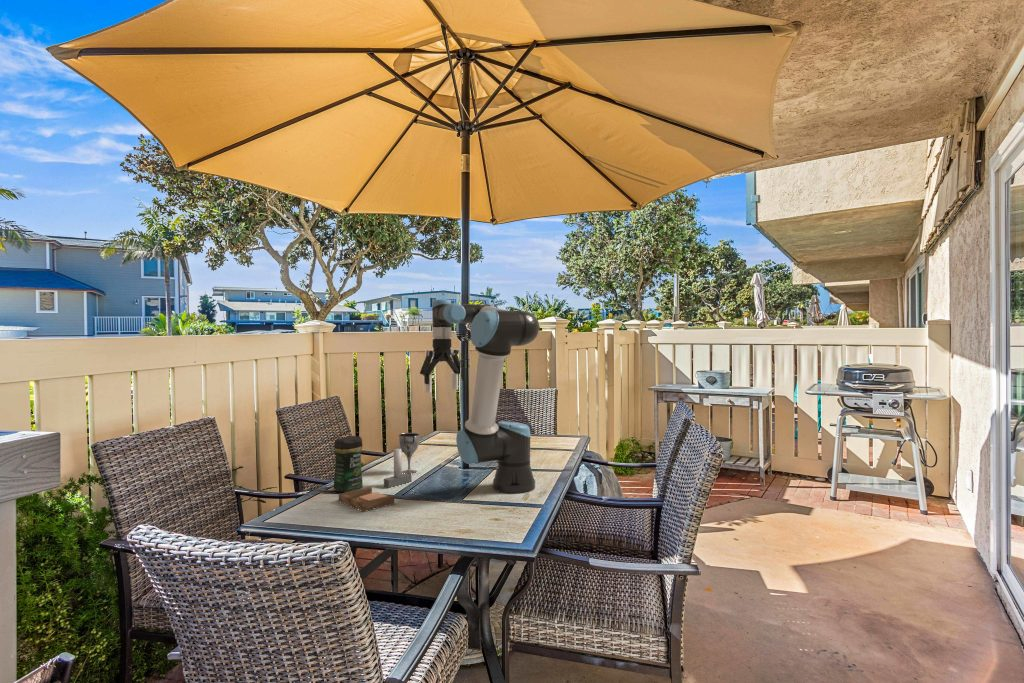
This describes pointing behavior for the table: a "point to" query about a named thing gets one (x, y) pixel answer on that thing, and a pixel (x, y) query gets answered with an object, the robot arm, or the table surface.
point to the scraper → (397, 472)
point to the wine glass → (409, 447)
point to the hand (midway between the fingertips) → (442, 391)
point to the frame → (352, 500)
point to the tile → (371, 496)
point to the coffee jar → (348, 464)
